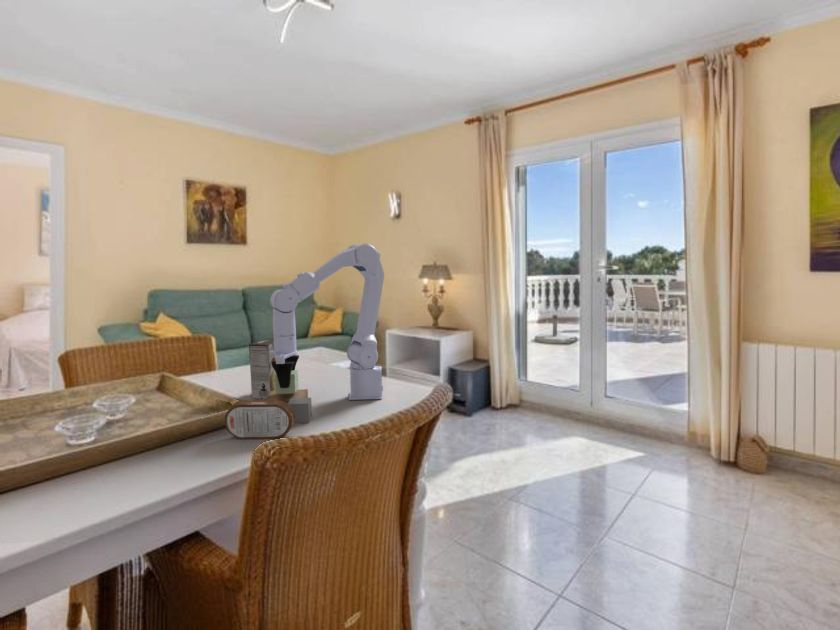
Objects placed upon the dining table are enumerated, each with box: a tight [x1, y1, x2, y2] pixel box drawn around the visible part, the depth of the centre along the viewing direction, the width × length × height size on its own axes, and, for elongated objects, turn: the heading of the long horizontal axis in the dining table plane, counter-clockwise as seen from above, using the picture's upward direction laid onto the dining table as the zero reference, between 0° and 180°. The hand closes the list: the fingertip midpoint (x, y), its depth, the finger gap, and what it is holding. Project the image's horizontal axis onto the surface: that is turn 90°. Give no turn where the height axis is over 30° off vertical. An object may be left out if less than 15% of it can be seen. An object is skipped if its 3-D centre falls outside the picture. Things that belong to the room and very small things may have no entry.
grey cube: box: [288, 397, 313, 424], centre depth 114 cm, size 5×5×5 cm
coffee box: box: [248, 338, 276, 400], centre depth 136 cm, size 9×6×16 cm
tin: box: [224, 399, 295, 440], centre depth 102 cm, size 15×3×8 cm, turn 92°
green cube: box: [275, 369, 299, 394], centre depth 123 cm, size 5×5×5 cm
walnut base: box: [265, 388, 309, 404], centre depth 124 cm, size 10×10×4 cm
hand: (286, 384), depth 123 cm, fingers closed on green cube, 5 cm apart
